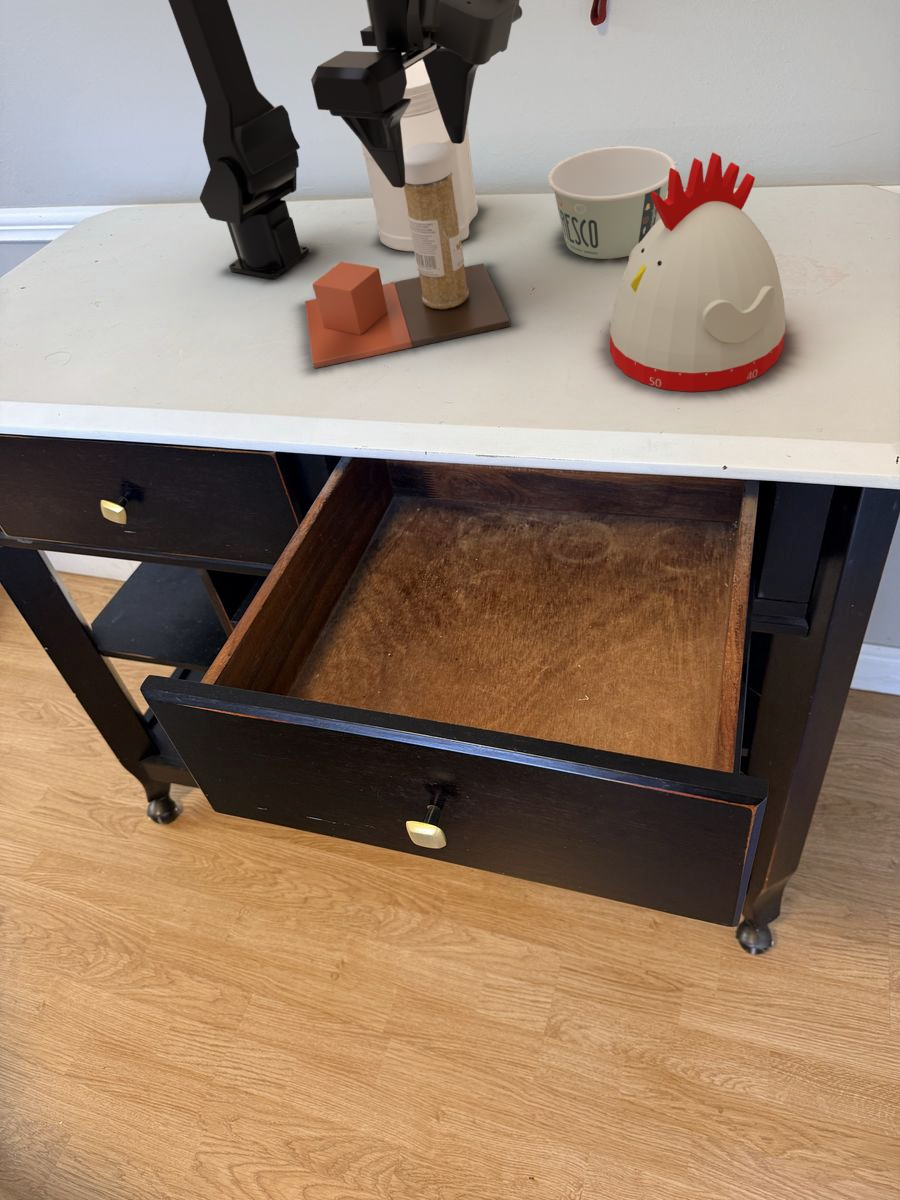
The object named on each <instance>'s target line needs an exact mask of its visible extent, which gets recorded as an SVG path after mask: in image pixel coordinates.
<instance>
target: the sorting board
mask: <svg viewBox="0 0 900 1200" xmlns="http://www.w3.org/2000/svg"><path fill="white" fill-rule="evenodd" d="M464 269H465V275H466V282H467V287H468V288H469V296H468V298H467V299H466V301H464V302H463V303H461V304H460V305H458V306H456V307H452V308H448V309H434V308H430V307H428V306H426V305H425V304H424V303H423V300H422V294H423V292H422V286H421V282H420V276H416V277H411V278H408V279H404V280H398V281H393V282H389V283H384V284H382V286H383V291H384V296H385V301H386V306H387V311H388V312H387V313H386V314H385V315H384V316H383V317H381V318H380V319H379V320H378V321H377V322H376V323H374V324H373V325H372V326H371V327H370V328H369V329H367V330H366V331H365V332H364V333H363V334H362V335H357V334H353V333H348V332H343V331H339V330H334V329H329V328H325V327H324V326H323V322H322V318H321V314H320V310H319V307H318V303H317V299H316V298H314V299H309V300H305V301H304V303H305V304H304V305H305V310H306V320H307V329H308V335H309V336H308V337H309V343H310V351H311V360H312V365H313V366H312V367H313V368H314V369H318V368H324V367H329V366H331V365H337V364H341V363H346V362H350V361H357V360H360V359H365V358H369V357H374V356H379V355H383V354H388V353H392V352H397V351H401V350H402V351H403V350H406V349H411V348H416V347H420V346H425V345H429V344H435V343H439V342H443V341H448V340H452V339H458V338H462V337H467V336H472V335H476V334H480V333H485V332H490V331H494V330H500V329H504V328H508V327H511V321H510V319H509V317H508V315H507V312H506V310H505V308H504V306H503V303H502V301H501V299H500V297H499V295H498V292H497V291H496V287H495V286H494V284H493V281H492V279H491V277H490V275H489V273H488V271H487V268H486V266H485V264H484V263H483V262H482V263H478V264H477V263H476V264H473V265H468V266H464Z"/></svg>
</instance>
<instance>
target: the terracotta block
mask: <svg viewBox="0 0 900 1200" xmlns="http://www.w3.org/2000/svg"><path fill="white" fill-rule="evenodd" d="M382 285H383V282H382V277H381V272H380V268H379V267H376V266H369V265H363V264H357V263H351V262H345V261H340V262H339V263H337V264H336V265H335V266H334V267H332V268H331V269H330V270H328V271H327V272H326V273H324V274H323V275H322V276H320V277H319V278H317V280H315V281H314V282H313V283H312V288H313V291H314V294H315V299H317V303H318V307H319V310H320V314H321V318H322V322H323V326H324V327H325V328H329V329H334V330H339V331H343V332H348V333H353V334H357V335H362V334H363V333H364V332H365V331H366V330H367V329H369V328H370V327H371V326H372V325H373V324H374V323H376V322H377V321H378V320H379V319H380V318H381V317H383V316H384V315H385V314H386V313H387V312H388V311H387V306H386V301H385V296H384V291H383V286H382Z"/></svg>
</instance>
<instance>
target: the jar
mask: <svg viewBox="0 0 900 1200" xmlns="http://www.w3.org/2000/svg"><path fill="white" fill-rule="evenodd" d="M405 72H406V79H407V85H406V89H405V93H404V97H403V98H407V99H411V102H410V104H409V106H408V107H407V109H406V111H405V112H404V114H403V116H402V118H401V120H400V124H401V134H402V144H403V150H404V149H406V148H408V147H410V146H413V145H416V144H420V143H426V142H438V143H443V144H445V145H447V146H448V147H449V149H450V152H451V158H452V166H453V170H452V185H453V191H454V199H455V206H456V211H457V215H458V223H459V230H460V237H461V242H463V241H465V240H466V239H468V238H469V235H470V224H471V222H472V221H473V220H474V218H475V217H476V216H477V215H478V212H479V206H478V199H477V196H476V187H475V179H474V170H473V161H472V151H471V143H470V135H469V127H468V125H469V121H468V119H467V125H466V131H465V138H464V141H463V142H462V143H461V144H455V143H452V142H451V140H450V137H449V135H448V133H447V130H446V128H445V125H444V122H443V119H442V116H441V113H440V110H439V107H438V104H437V101H436V98H435V95H434V92H433V89H432V86H431V83H430V80H429V77H428V74H427V71H426V68H425V65H424V62H423V60H420V61H418V62H417V63H415V64H414V65H412V66H410V67H409V68H407V69H406V70H405ZM361 149H362V153H363V154H362V155H363V156H364V159H365V160H364V161H365V165H366V170H367V174H368V180H369V185H370V190H371V195H372V200H373V205H374V210H375V211H374V212H375V215H376V220H377V224H378V225H377V226H378V235H379V240H380V243H382V244H383V245H384V246H386V247H388V248H390V249H393V250H397V251H401V252H413V253H414V247H413V242H412V236H411V230H410V224H409V219H408V208H407V203H406V197H405V192H404V187H402V188H397V187H393V186H392V185H391V183H390V182H389V181H388V179H387V178H386V176H385V175H384V173H383V172H382V171H381V169H380V168H379V166H378V165H377V163H376V162H375V160H374V159H373V158H372V156H371V155H370V153H369V152H368V150H367V149H366V148H365V146H364V145H363V143H362V142H361Z"/></svg>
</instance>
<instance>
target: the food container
mask: <svg viewBox="0 0 900 1200" xmlns="http://www.w3.org/2000/svg"><path fill="white" fill-rule="evenodd" d="M670 168H673V169H674V170H676V171H677V167H676V163H675V161H674V159H673V158H672V157H671V156H670V155H668V154H666V153H665V152H662V151H660V150H658V149H654V148H650V147H645V146H634V145H617V146H607V147H606V146H605V147H600V148H599V147H598V148H594V149H589V150H585V151H582V152H579V153H577V154H574V155H571V156H568V157H567V158H564V159H563V160H561V161H560V162H558V163H557V164H556V165H554V166H553V167H552V169H551V170H550V171H549V173H548V175H547V176H548V177H547V184H548V186H549V187H550V188H551V190H553V194H554V197H555V202H556V206H557V211H558V215H559V221H560V224H561V228H562V232H563V233H562V234H563V238H564V242H565V245H566V247H567V248H568V249H569V251H571V252H572V253H574V254H575V255H577V256H581V257H584V258H590V259H597V260H610V259H621V258H625V257H629V256H630V253H631V252H632V250H633V249H634V247H635V246H636V245H637V244H638V243H640V242H641V241H642V239H643V238H644V237H645V236H646V234H647V233H648V232H649V230H650V229H651V228H652V227H653V226H654V225H655V223H656V222H657V221H658V220H659V219H660V216H659V213H658V211H657V209H656V207H655V205H654V203H653V200H652V196H651V191H653V192H655V193H656V194H658V195H659V196H660V197H661V198H662V199H663V201H664V200H666V199H667V195H668V180H669V171H670Z"/></svg>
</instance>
